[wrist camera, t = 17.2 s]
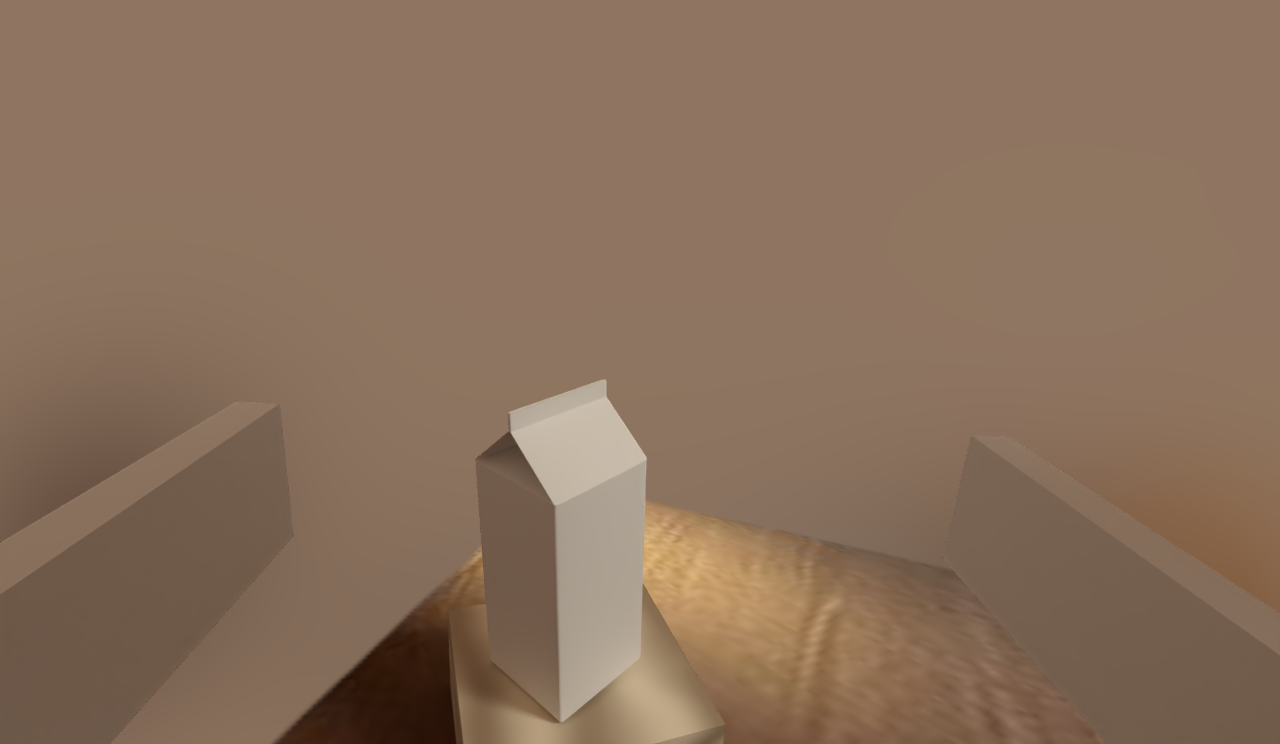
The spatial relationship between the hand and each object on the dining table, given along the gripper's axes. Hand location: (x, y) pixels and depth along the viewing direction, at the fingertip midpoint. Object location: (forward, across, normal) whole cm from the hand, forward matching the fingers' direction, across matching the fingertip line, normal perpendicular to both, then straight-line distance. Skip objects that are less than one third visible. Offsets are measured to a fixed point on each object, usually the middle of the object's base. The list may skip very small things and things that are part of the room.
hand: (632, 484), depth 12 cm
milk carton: (+24, -2, -25) cm, 35 cm away
